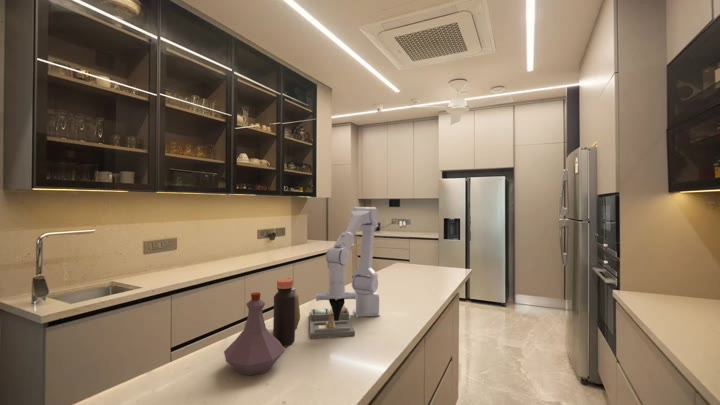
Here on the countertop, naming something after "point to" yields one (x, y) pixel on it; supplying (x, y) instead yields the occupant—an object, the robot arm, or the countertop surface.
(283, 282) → the vinegar
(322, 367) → the countertop surface
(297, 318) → the squeeze bottle
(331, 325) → the tan wooden step block
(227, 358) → the flask
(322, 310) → the mint button
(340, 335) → the panel
